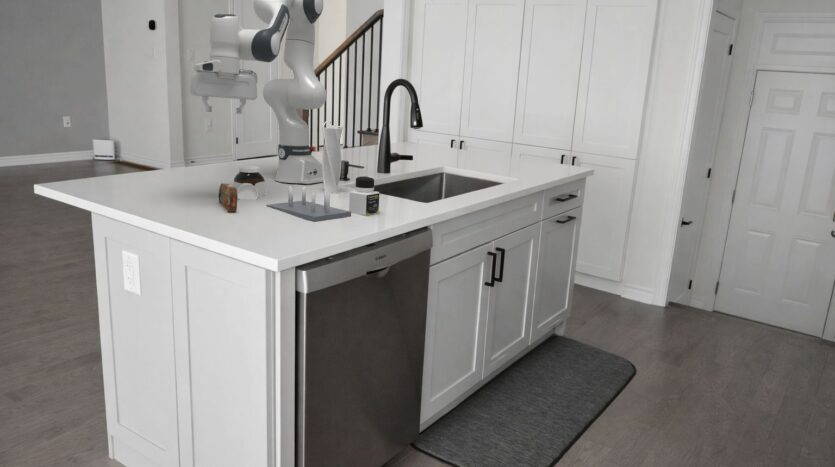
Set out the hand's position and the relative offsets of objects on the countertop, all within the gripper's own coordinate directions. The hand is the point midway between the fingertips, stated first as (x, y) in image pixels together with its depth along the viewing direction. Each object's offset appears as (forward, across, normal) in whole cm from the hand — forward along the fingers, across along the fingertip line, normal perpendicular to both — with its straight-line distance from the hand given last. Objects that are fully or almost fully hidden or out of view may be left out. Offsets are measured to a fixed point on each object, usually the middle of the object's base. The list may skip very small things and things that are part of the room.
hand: (224, 112), depth 197 cm
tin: (+30, 0, +6) cm, 31 cm away
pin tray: (+30, -23, +16) cm, 41 cm away
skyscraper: (+29, -42, -10) cm, 52 cm away
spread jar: (+30, -11, -8) cm, 33 cm away
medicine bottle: (+30, -40, +21) cm, 54 cm away
